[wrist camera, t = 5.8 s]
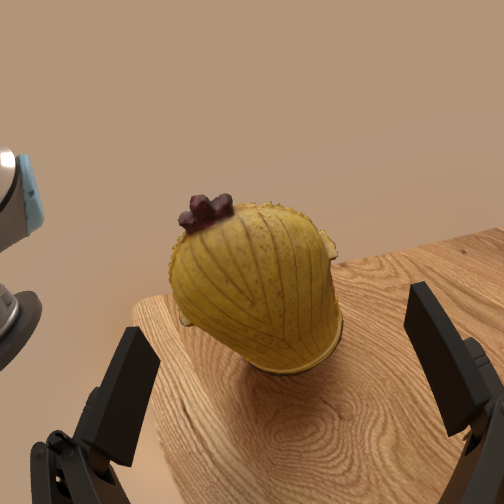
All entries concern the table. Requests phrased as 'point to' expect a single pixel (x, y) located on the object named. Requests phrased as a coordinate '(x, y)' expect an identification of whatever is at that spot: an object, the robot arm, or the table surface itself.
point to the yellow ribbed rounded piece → (257, 283)
